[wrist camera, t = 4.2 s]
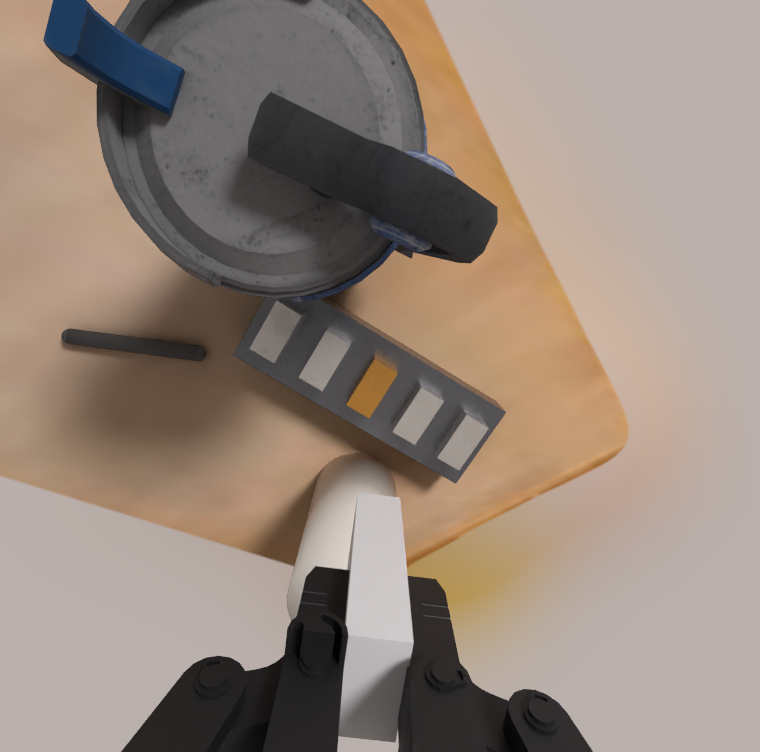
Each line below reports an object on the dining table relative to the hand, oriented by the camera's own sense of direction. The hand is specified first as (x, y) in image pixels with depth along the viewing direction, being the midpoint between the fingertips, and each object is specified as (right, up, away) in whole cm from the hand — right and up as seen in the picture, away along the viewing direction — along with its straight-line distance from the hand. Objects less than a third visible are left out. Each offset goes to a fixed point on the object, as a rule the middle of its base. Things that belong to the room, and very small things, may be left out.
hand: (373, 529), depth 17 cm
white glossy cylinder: (-2, -5, +25) cm, 25 cm away
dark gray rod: (-19, +8, +22) cm, 30 cm away
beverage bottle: (-3, +18, +20) cm, 26 cm away
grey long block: (0, +6, +23) cm, 23 cm away
